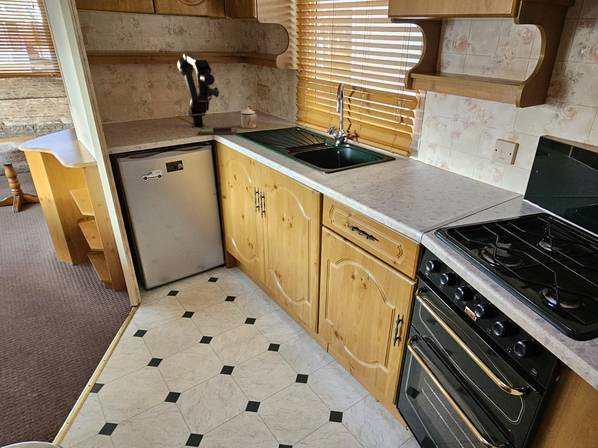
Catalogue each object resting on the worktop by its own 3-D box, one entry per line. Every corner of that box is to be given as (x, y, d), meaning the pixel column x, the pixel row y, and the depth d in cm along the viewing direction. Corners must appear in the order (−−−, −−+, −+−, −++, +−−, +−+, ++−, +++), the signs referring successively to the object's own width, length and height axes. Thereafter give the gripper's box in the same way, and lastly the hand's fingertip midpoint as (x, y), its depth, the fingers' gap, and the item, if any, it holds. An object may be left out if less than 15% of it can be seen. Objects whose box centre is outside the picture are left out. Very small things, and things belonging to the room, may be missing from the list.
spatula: (200, 132, 227) (199, 128, 226) (201, 130, 233) (201, 126, 232) (230, 131, 230) (230, 128, 229) (231, 129, 235) (231, 126, 234)
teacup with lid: (249, 129, 244) (247, 109, 239) (238, 127, 248) (236, 107, 244) (262, 126, 253) (261, 106, 248) (251, 124, 258) (250, 105, 253)
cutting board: (200, 131, 236) (200, 129, 235) (235, 131, 239) (235, 128, 238) (198, 135, 228) (198, 132, 227) (234, 134, 230) (234, 131, 230)
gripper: (215, 85, 220) (218, 114, 227) (219, 81, 237) (222, 108, 243) (194, 85, 219) (198, 114, 225) (200, 81, 235) (203, 109, 242)
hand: (206, 111), depth 234 cm, fingers open, 9 cm apart
